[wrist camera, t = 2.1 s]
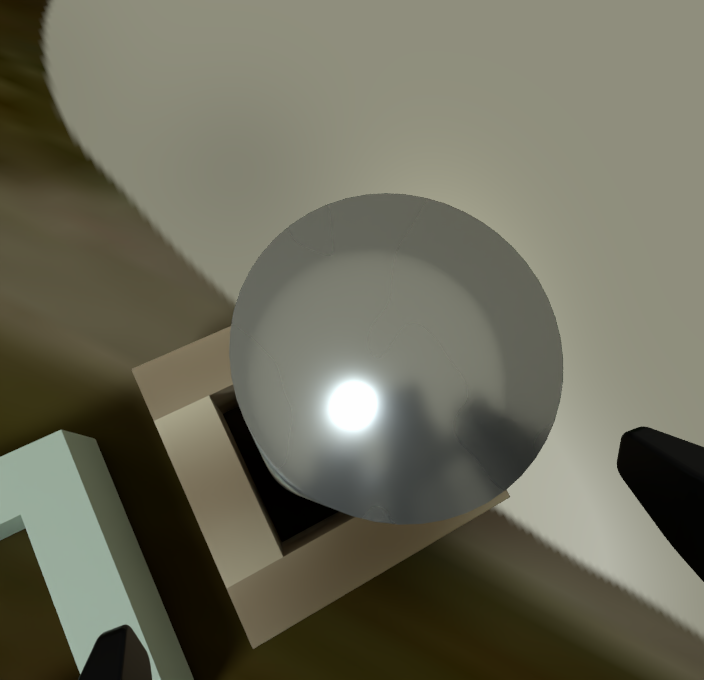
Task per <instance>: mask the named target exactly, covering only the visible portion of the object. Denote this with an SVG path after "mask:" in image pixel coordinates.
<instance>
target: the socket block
mask: <svg viewBox="0 0 704 680" xmlns="http://www.w3.org/2000/svg"><path fill="white" fill-rule="evenodd" d="M25 528H26V530H27V533H28V536H29V538H30V541H31V544H32V546H33V549H34V552H35V554H36V557H37V560H38V563H39V565H40V568H41V571H42V573H43V576H44V579H45V581H46V584H47V587H48V589H49V592H50V595H51V597H52V600H53V603H54V605H55V608H56V611H57V613H58V616H59V619H60V621H61V624H62V627H63V629H64V632H65V635H66V637H67V640H68V643H69V646H70V648H71V651H72V654H73V656H74V659H75V662H76V664H77V667H78V670H79V672H80V674H81V672H82V670H83V668H84V666H85V664H86V661H87V659H88V657H89V655H90V653H91V651H92V649H93V646H94V644H95V642H96V640H97V638H98V637H99V636H100V635H101V634H102V633H104V632H106V631H108V630H111V629H113V628H116V627H119V626H121V625H125V624H126V625H129V626H130V627H131V628H132V629H133V631H134V632H135V634H136V635H137V637H138V638H139V640H140V642H141V643H142V645H143V646H144V648H145V649H146V651H147V653H148V656H149V660H150V665H151V673H152V680H194V678H193V676H192V673H191V671H190V668H189V666H188V664H187V661H186V659H185V656H184V654H183V651H182V649H181V646H180V644H179V642H178V639H177V637H176V634H175V632H174V629H173V627H172V625H171V622H170V620H169V617H168V615H167V612H166V610H165V607H164V605H163V603H162V600H161V598H160V595H159V593H158V590H157V588H156V586H155V583H154V581H153V578H152V576H151V573H150V571H149V568H148V566H147V564H146V561H145V559H144V556H143V554H142V551H141V549H140V547H139V544H138V542H137V539H136V537H135V534H134V532H133V530H132V527H131V525H130V522H129V520H128V517H127V515H126V512H125V510H124V508H123V505H122V503H121V500H120V498H119V495H118V493H117V491H116V488H115V486H114V483H113V481H112V478H111V476H110V473H109V471H108V469H107V466H106V464H105V461H104V459H103V456H102V454H101V452H100V449H99V447H98V444H97V442H96V439H94V438H91V437H87V436H83V435H79V434H76V433H72V432H68V431H64V430H59V431H57V432H55V433H52V434H50V435H48V436H46V437H44V438H41V439H39V440H37V441H35V442H32V443H30V444H28V445H26V446H23V447H21V448H19V449H17V450H15V451H12V452H10V453H8V454H6V455H3V456H1V457H0V540H2V539H4V538H6V537H8V536H10V535H12V534H14V533H16V532H18V531H20V530H23V529H25Z"/></svg>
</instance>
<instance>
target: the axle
mask: <svg viewBox="0 0 704 680" xmlns="http://www.w3.org/2000/svg"><path fill="white" fill-rule="evenodd" d="M229 358H230V369H231V378H232V382H233V386H234V390H235V395H236V399H237V402H238V404H239V407H240V409H241V412H242V415H243V417H244V420H245V422H246V424H247V426H248V428H249V431H250V433H251V435H252V437H253V439H254V441H255V443H256V445H257V447H258V449H259V451H260V454H261V456H262V458H263V460H264V462H265V464H266V466H267V468H268V470H269V472H270V474H271V475H272V477H273V478H274V479H275V481H276V482H277V483H278V484H279V485H281V486H282V487H283V488H284V489H286V490H287V491H289V492H291V493H293V494H296V495H298V496H301V497H303V498H306V499H309V500H311V501H314V502H316V503H319V504H322V505H324V506H327V507H330V508H332V509H335V510H337V511H340V512H343V513H345V514H348V515H350V516H354V517H358V518H362V519H366V520H369V521H373V522H380V523H389V524H398V525H400V524H424V523H430V522H436V521H442V520H446V519H450V518H453V517H456V516H459V515H462V514H465V513H468V512H470V511H472V510H474V509H476V508H478V507H480V506H482V505H484V504H486V503H488V502H489V501H491V500H492V499H494V498H495V497H496V496H498V495H499V494H501V493H502V492H504V491H505V490H506V489H507V488H508V487H510V486H511V485H512V484H513V483H514V482H515V481H516V480H517V479H518V478H519V477H520V476H521V475H522V474H523V473H524V472H525V471H526V469H527V468H528V467H529V466H530V464H531V463H532V462H533V461H534V459H535V458H536V456H537V455H538V453H539V451H540V450H541V448H542V446H543V445H544V443H545V441H546V440H547V437H548V435H549V432H550V430H551V428H552V426H553V423H554V421H555V417H556V414H557V410H558V406H559V402H560V398H561V390H562V382H563V354H562V347H561V339H560V334H559V330H558V326H557V322H556V318H555V316H554V313H553V310H552V308H551V305H550V302H549V300H548V298H547V296H546V294H545V292H544V290H543V288H542V286H541V284H540V282H539V280H538V279H537V277H536V276H535V274H534V273H533V272H532V270H531V269H530V267H529V266H528V264H527V263H526V262H525V261H524V259H523V258H522V257H521V256H520V255H519V254H518V252H516V250H515V249H514V248H513V247H512V246H511V245H510V244H509V243H508V242H507V241H505V240H504V239H503V238H502V237H501V236H500V235H499V234H498V233H496V232H495V231H494V230H492V229H491V228H490V227H488V226H487V225H485V224H484V223H483V222H481V221H479V220H478V219H476V218H474V217H472V216H471V215H469V214H467V213H465V212H463V211H461V210H459V209H456V208H454V207H452V206H449V205H447V204H445V203H441V202H438V201H434V200H431V199H428V198H423V197H418V196H412V195H406V194H388V193H384V194H369V195H362V196H357V197H351V198H346V199H343V200H340V201H337V202H334V203H330V204H327V205H325V206H323V207H321V208H319V209H317V210H314V211H313V212H310V213H308V214H307V215H305V216H304V217H302V218H300V219H299V220H297V221H296V222H295V223H293V224H291V225H290V226H289V227H288V228H286V229H285V230H284V231H283V232H282V233H281V234H279V235H278V236H277V237H276V238H275V239H274V240H273V241H272V242H271V243H270V245H269V246H268V247H267V248H266V249H265V250H264V251H263V252H262V254H261V255H260V257H259V258H258V260H257V261H256V263H255V264H254V266H253V267H252V268H251V270H250V272H249V274H248V276H247V278H246V280H245V282H244V284H243V286H242V288H241V290H240V293H239V296H238V299H237V302H236V305H235V308H234V313H233V318H232V324H231V329H230V344H229Z"/></svg>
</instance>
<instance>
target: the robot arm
mask: <svg viewBox="0 0 704 680" xmlns="http://www.w3.org/2000/svg"><path fill="white" fill-rule="evenodd" d="M617 468H618V471H619V473H620V475H621V477H622V478H623V480H624V481H625V483H626V484H627V485H628V487H629V488H630V489H631V491H632V492H633V493H634V495H635V496H636V497H637V499H638V500H639V502H640V503H641V505H642V506H643V507H644V509H645V510H646V511H647V513H648V514H649V515H650V517H651V518H652V520H653V521H654V522H655V524H656V525H657V526H658V528H659V529H660V531H661V532H662V533H663V535H664V536H665V537H666V538H667V540H668V541H669V542H670V544H671V545H672V546H673V547H674V549H676V551H677V552H678V553H679V554H680V556H681V557H682V558H683V559H684V560H685V561H686V562H687V564H688V565H689V566H690V567H691V568H692V569H693V570H694V571H695V572H696V574H697V575H698V576H699V577H700V578H701V579H702V580H703V582H704V447H701V446H699V445H696V444H693V443H690V442H688V441H685V440H682V439H679V438H677V437H674V436H671V435H668V434H665V433H663V432H660V431H657V430H654V429H652V428H648V427H638V428H636V429H633V430H630V431H628V432H625V433H624V435H622V438H621V442H620V448H619V453H618V459H617ZM78 680H152V673H151V665H150V660H149V656H148V653H147V651H146V649H145V648H144V646H143V645H142V643H141V642H140V640H139V638H138V637H137V635H136V634H135V632H134V631H133V629H132V628H131V627H130V626H129V625H126V624H125V625H121V626H119V627H116V628H113V629H111V630H108V631H106V632H104V633H102V634H101V635H100V636H99V637H98V638H97V640H96V642H95V644H94V646H93V649H92V651H91V653H90V655H89V657H88V659H87V661H86V664H85V666H84V668H83V670H82V672H81V674H80V676H79V679H78Z"/></svg>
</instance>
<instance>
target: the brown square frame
mask: <svg viewBox="0 0 704 680" xmlns="http://www.w3.org/2000/svg"><path fill="white" fill-rule="evenodd" d="M230 329H231V326H230V327H227V328H225V329H223V330H221V331H218V332H216V333H214V334H211V335H209V336H207V337H204V338H202V339H200V340H198V341H195V342H193V343H191V344H188V345H186V346H184V347H181V348H179V349H177V350H175V351H172V352H170V353H168V354H165V355H163V356H161V357H158V358H156V359H154V360H152V361H149V362H147V363H145V364H142V365H140V366H138V367H135V368H133V369H131V370H132V372H133V374H134V376H135V379H136V381H137V383H138V386H139V388H140V390H141V393H142V395H143V397H144V400H145V402H146V404H147V406H148V409H149V411H150V413H151V416H152V418H153V420H154V423H155V425H156V427H157V429H158V432H159V434H160V436H161V439H162V441H163V443H164V446H165V448H166V450H167V452H168V455H169V457H170V459H171V462H172V464H173V466H174V469H175V471H176V473H177V476H178V478H179V480H180V482H181V485H182V487H183V489H184V492H185V494H186V496H187V499H188V501H189V503H190V505H191V508H192V510H193V512H194V515H195V517H196V519H197V522H198V524H199V526H200V528H201V531H202V533H203V535H204V538H205V540H206V542H207V545H208V547H209V549H210V552H211V554H212V556H213V558H214V561H215V563H216V565H217V568H218V570H219V572H220V575H221V577H222V579H223V581H224V584H225V586H226V588H227V591H228V593H229V595H230V598H231V600H232V602H233V604H234V607H235V609H236V611H237V614H238V616H239V618H240V621H241V623H242V625H243V628H244V630H245V632H246V634H247V637H248V639H249V641H250V644H251V646H252V648H253V649H254V648H255V647H257V646H259V645H260V644H262V643H264V642H265V641H267V640H269V639H271V638H272V637H274V636H276V635H277V634H279V633H281V632H282V631H284V630H286V629H287V628H289V627H291V626H293V625H294V624H296V623H298V622H299V621H301V620H303V619H304V618H306V617H308V616H310V615H311V614H313V613H315V612H316V611H318V610H320V609H321V608H323V607H325V606H326V605H328V604H330V603H332V602H333V601H335V600H337V599H338V598H340V597H342V596H343V595H345V594H347V593H348V592H350V591H352V590H354V589H355V588H357V587H359V586H360V585H362V584H364V583H365V582H367V581H369V580H370V579H372V578H374V577H376V576H377V575H379V574H381V573H382V572H384V571H386V570H387V569H389V568H391V567H392V566H394V565H396V564H398V563H399V562H401V561H403V560H404V559H406V558H408V557H409V556H411V555H413V554H414V553H416V552H418V551H420V550H421V549H423V548H425V547H426V546H428V545H430V544H431V543H433V542H435V541H436V540H438V539H440V538H442V537H443V536H445V535H447V534H448V533H450V532H452V531H453V530H455V529H457V528H458V527H460V526H462V525H464V524H465V523H467V522H469V521H470V520H472V519H474V518H475V517H477V516H479V515H480V514H482V513H484V512H486V511H487V510H489V509H491V508H492V507H494V506H496V505H497V504H499V503H501V502H502V501H504V500H506V499H508V498H509V497H510V496H509V494H508V492H507V490H505V491H504V492H502V493H501V494H499V495H498V496H496V497H495V498H494V499H492V500H491V501H489V502H488V503H486V504H484V505H482V506H480V507H478V508H476V509H474V510H472V511H470V512H468V513H465V514H462V515H459V516H456V517H453V518H450V519H446V520H442V521H436V522H430V523H424V524H400V525H398V524H389V523H380V522H373V521H369V520H366V519H362V518H358V517H354V516H350V515H348V514H345V513H343V512H340V511H338V512H336V513H335V514H333V515H331V516H329V517H327V518H325V519H324V520H322V521H320V522H318V523H316V524H315V525H313V526H311V527H309V528H307V529H305V530H304V531H302V532H300V533H298V534H296V535H294V536H293V537H291V538H289V539H287V540H285V541H284V542H281V539H280V537H279V535H278V533H277V531H276V529H275V526H274V524H273V522H272V520H271V518H270V516H269V513H268V511H267V509H266V507H265V505H264V502H263V500H262V498H261V496H260V494H259V492H258V489H257V487H256V485H255V483H254V481H253V479H252V476H251V474H250V472H249V470H248V468H247V466H246V463H245V461H244V459H243V457H242V455H241V453H240V450H239V448H238V446H237V444H236V442H235V439H234V437H233V435H232V433H231V431H230V429H229V426H228V424H227V422H226V420H225V418H224V416H223V414H224V413H226V412H228V411H230V410H232V409H234V408H237V407H239V404H238V402H237V399H236V395H235V390H234V386H233V382H232V378H231V369H230V358H229V344H230Z"/></svg>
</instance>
